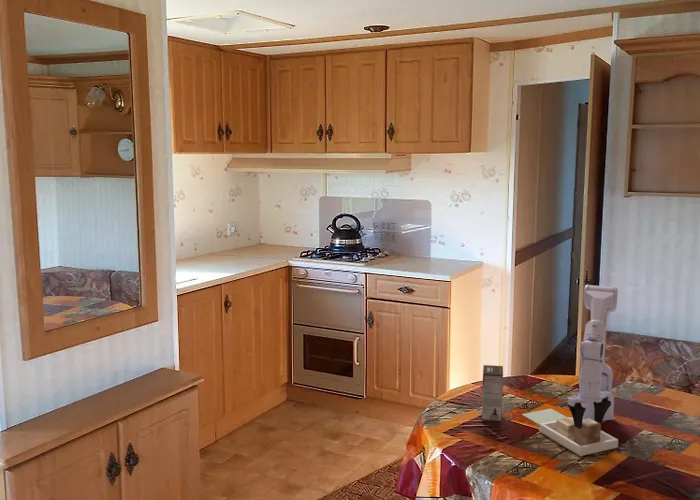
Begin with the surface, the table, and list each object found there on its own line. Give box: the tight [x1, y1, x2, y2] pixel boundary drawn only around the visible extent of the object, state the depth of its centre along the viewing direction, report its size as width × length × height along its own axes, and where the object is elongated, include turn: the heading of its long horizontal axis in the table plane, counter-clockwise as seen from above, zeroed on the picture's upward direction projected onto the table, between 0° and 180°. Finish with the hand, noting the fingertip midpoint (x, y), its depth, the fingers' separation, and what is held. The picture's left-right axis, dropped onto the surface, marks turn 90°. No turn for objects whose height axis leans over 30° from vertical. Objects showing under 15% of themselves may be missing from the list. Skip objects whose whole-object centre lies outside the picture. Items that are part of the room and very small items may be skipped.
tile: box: [521, 408, 568, 426], centre depth 213 cm, size 12×12×1 cm
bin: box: [538, 417, 619, 457], centre depth 198 cm, size 14×18×3 cm
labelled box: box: [574, 418, 602, 446], centre depth 194 cm, size 5×5×7 cm
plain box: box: [556, 416, 575, 438], centre depth 201 cm, size 5×5×4 cm
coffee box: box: [481, 364, 504, 422], centre depth 215 cm, size 9×6×16 cm
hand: (588, 425), depth 193 cm, fingers open, 7 cm apart
